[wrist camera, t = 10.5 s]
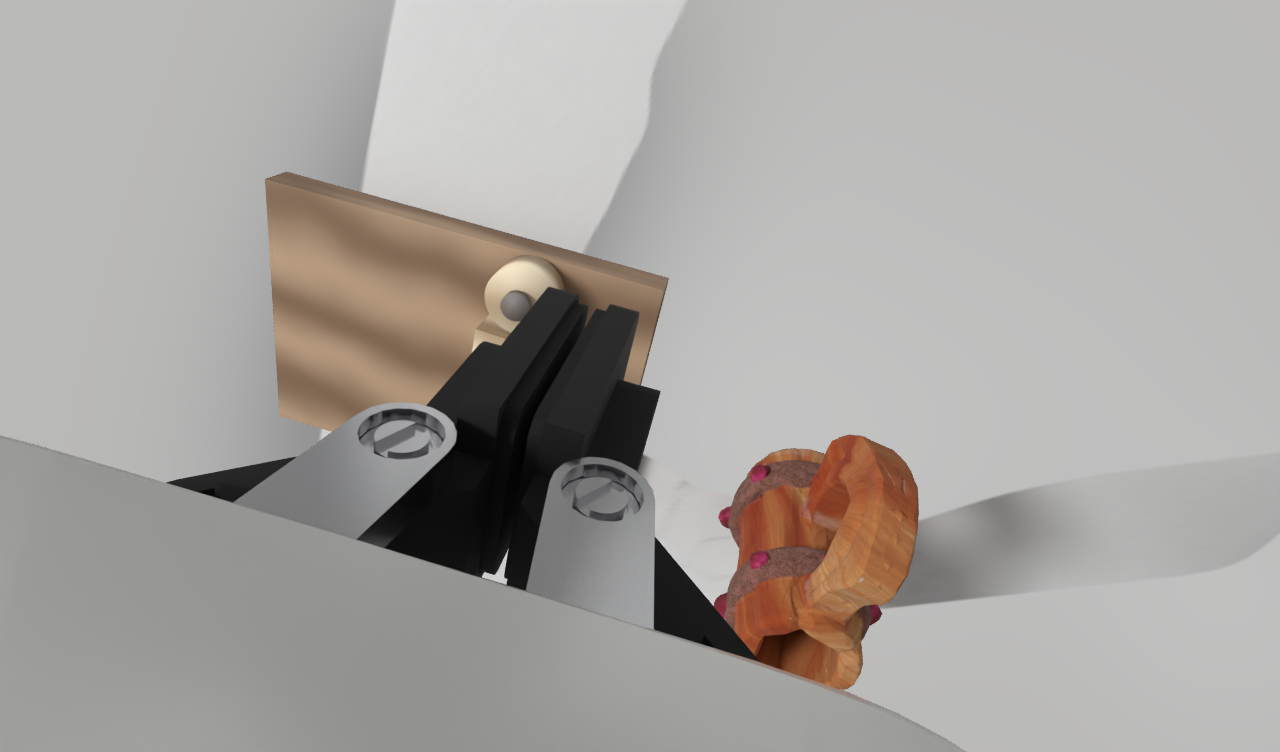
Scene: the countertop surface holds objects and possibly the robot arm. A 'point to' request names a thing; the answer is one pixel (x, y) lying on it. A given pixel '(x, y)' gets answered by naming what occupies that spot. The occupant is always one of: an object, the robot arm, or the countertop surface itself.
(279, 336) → the board
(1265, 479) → the countertop surface
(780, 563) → the mug
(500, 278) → the tong arm
